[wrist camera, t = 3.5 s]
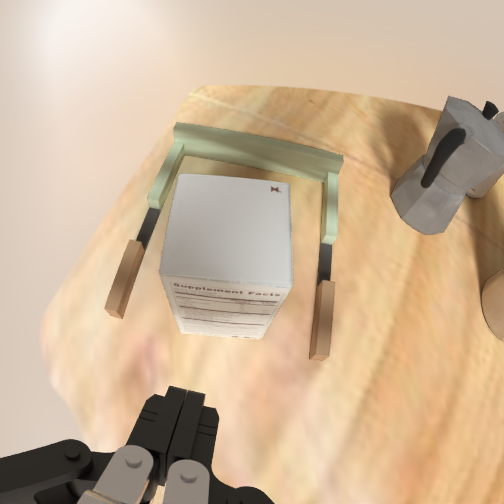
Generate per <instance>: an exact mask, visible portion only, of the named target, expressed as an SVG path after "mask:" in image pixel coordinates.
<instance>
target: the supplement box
mask: <svg viewBox="0 0 504 504" xmlns="http://www.w3.org/2000/svg"><path fill="white" fill-rule="evenodd" d="M159 274H160V277H161V280H162V283H163V286H164V289H165V292H166V295H167V298H168V301H169V304H170V307H171V309H172V312H173V315H174V317H175V320H176V323H177V325H178V328H179V331H180V333H185V334H197V335H208V336H219V337H232V338H248V339H262V337H263V335H264V334H265V332H266V330H267V328H268V327H269V325H270V324H271V322H272V320H273V319H274V317H275V315H276V314H277V312H278V310H279V309H280V307H281V305H282V304H283V302H284V300H285V299H286V297H287V295H288V293H289V292H290V290H291V288H292V286H293V260H292V223H291V203H290V184H289V183H283V182H277V181H269V180H260V179H250V178H240V177H228V176H217V175H204V174H190V173H181V174H179V177H178V180H177V184H176V188H175V192H174V196H173V201H172V205H171V210H170V215H169V220H168V224H167V230H166V235H165V240H164V245H163V251H162V256H161V263H160V269H159Z"/></svg>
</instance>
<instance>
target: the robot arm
mask: <svg viewBox="0 0 504 504" xmlns="http://www.w3.org/2000/svg"><path fill="white" fill-rule="evenodd" d="M482 307H483V312H484V316H485V318H486V321H487V323H488V325H489V327H490V329H491V330H492V332H493V333H494V334H495V335H496V336H497V337H498V338H499V339H500V340H502V341H504V268H503V269H502V270H500V271H499V272H498V273H496V274H495V275H494V276H492V277H491V278H490V279H488V280H487V281H486V283H485V285H484V287H483V291H482ZM205 395H206V394H203V393H199V392H195V391H190V390H188V392H187V390H186V389H181V388H177V387H173V386H169V388H168V390H167V393H166V395H165V397H164V396H160V395H157V394H154V395H153V396H151V397H150V398H149V399H148V400H146V402H145V404H144V406H143V409H142V411H141V413H140V415H139V418H138V419H137V421H136V424H135V426H134V428H133V430H132V432H131V435H130V437H129V439H128V441H127V443H126V445H125V446H123V447H121V448H119V449H118V450H117V451H116V452H112V453H102V452H92V451H90V449H89V448H88V446H87V445H86V444H84V443H83V442H81V441H78V440H73V439H68V440H63V441H60V442H57V443H54V444H51V445H47V446H44V447H41V448H37V449H34V450H30V451H26V452H22V453H19V454H15V455H11V456H7V457H3V458H0V504H152V503H153V500H154V496H155V493H156V490H157V486H158V485H161V486H165V483H166V488H165V493H164V499H163V504H274V502H273V501H272V500H271V499H270V498H269V497H268V496H267V495H266V494H265V493H264V492H263V491H261V490H259V489H257V488H254V487H248V486H244V487H239V488H236V489H235V488H233V487H231V486H228V485H226V484H224V483H222V482H221V481H219V480H218V479H217V478H216V477H215V476H214V474H213V472H212V468H211V464H212V458H213V452H214V446H215V441H216V435H217V429H218V423H219V416H218V413H217V410H216V408H211V407H206V406H204V401H205Z"/></svg>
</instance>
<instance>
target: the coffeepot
mask: <svg viewBox="0 0 504 504" xmlns="http://www.w3.org/2000/svg"><path fill="white" fill-rule="evenodd" d="M498 112H499V111H498V109H497V107H496V106H495V105H494V104H493V103H491V102H489V101H486V104H485V107H484V110H483V111H481V110H479V109H478V108H476V107H475V106H474V105H472V104H471V103H469V102H468V101H465V100H462V99H458V98H454V97H450V96H448V99H447V101H446V104H445V107H444V109H443V112H442V115H441V117H440V120H439V122H438V125H437V127H436V130H435V132H434V134H433V137H432V139H431V142H430V144H429V147H428V150H427V153H426V154H425V155H422V157H421V158H420V159H419V160H418V161H417V162H416V163H415V164H414V165H413V166H412V167H411V168H410V169H409V170H408V171H407V172H406V173H405V174H404V175H403V176H402V177H401V178H399V179H398V181H397V183H396V185H395V187H394V189H393V192H392V194H391V198H392V201H393V204H394V206H395V209H396V210H397V212H398V214H399V215H400V217H401V218H402V219H403V220H404V221H405V222H406V223H407V224H408V225H409V226H410V227H412V228H413V229H415V230H417V231H418V232H421V233H423V234H425V235H434V234H437V233H442V232H444V231H445V229H446V228H447V226H448V225H449V223H450V221H451V220H452V218H453V217H454V215H455V213H456V212H457V210H458V208H459V207H460V205H461V203H462V201H463V200H464V197H465V194H466V192H467V190H468V189H469V188H475V187H477V186H478V185H479V184H480V183H481V182H483V181H484V180H485V179H486V178H487V177H489V176H490V175H491V174H492V173H493V172H495V171H496V170H497V169H498V168H499V167H501V166H502V165H503V164H504V134H503V132H502V131H501V130H500V124H499V123H498V122H496V121H495V120H493V117H494V116H495V115H496V114H497V113H498Z"/></svg>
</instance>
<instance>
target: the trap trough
mask: <svg viewBox="0 0 504 504" xmlns="http://www.w3.org/2000/svg"><path fill="white" fill-rule="evenodd" d="M173 130H174V143H173V145H172V147H171V149H170V151H169V153H168V155H167V157H166V159H165V161H164V163H163V165H162V167H161V169H160V172H159V174H158V176H157V178H156V180H155V182H154V184H153V187H152V189H151V191H150V193H149V195H148V198H147V199H148V203H149V210H148V212H147V215H146V217H145V219H144V222H143V224H142V227H141V229H140V232H139V234H138V237H137V239H136V241H134V240H129V243H128V245H127V248H126V250H125V253H124V255H123V258H122V260H121V263H120V266H119V268H118V271H117V274H116V277H115V279H114V282H113V285H112V288H111V290H110V293H109V296H108V299H107V302H106V305H105V310H106V311H107V312H108V313H109V314H110V315H111V316H114V317H117V318H121V319H123V316H124V312H125V309H126V306H127V303H128V300H129V297H130V294H131V291H132V288H133V285H134V282H135V279H136V276H137V273H138V270H139V267H140V265H141V262H142V259H143V256H144V254H145V251H146V248H147V245H148V243H149V240H150V237H151V235H152V232H153V230H154V227H155V224H156V222H157V219H158V217H159V214H160V212H161V209H162V207H163V204H164V202H165V199H166V197H167V194H168V192H169V190H170V187H171V185H172V183H173V180H174V178H175V176H176V173H177V171H178V169H179V166H180V164H181V162H182V160H183V157H184V155H188V156H195V157H201V158H206V159H212V160H218V161H223V162H229V163H234V164H239V165H244V166H249V167H254V168H259V169H264V170H269V171H274V172H278V173H283V174H287V175H292V176H296V177H301V178H305V179H309V180H314V181H318V182H322V183H323V205H322V223H321V239H320V253H319V267H318V279H317V290H316V301H315V311H314V321H313V330H312V339H311V348H310V356H309V359H312V360H319V361H323V360H324V359H326V358H328V357H329V354H330V344H331V333H332V321H333V308H334V294H335V282H332V281H330V276H331V259H332V245H333V243H334V241H335V240H336V238H337V228H338V173H339V171H340V169H341V167H342V165H343V155H340V154H336V153H332V152H328V151H324V150H320V149H316V148H312V147H308V146H304V145H300V144H295V143H291V142H286V141H282V140H277V139H272V138H268V137H263V136H258V135H253V134H247V133H242V132H236V131H231V130H225V129H219V128H213V127H207V126H200V125H193V124H186V123H179V122H177V123H176V125H175V127H174V128H173Z"/></svg>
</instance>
